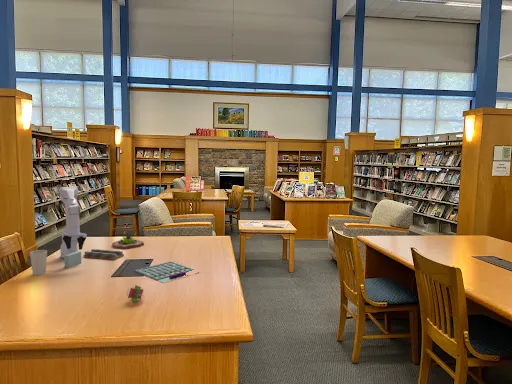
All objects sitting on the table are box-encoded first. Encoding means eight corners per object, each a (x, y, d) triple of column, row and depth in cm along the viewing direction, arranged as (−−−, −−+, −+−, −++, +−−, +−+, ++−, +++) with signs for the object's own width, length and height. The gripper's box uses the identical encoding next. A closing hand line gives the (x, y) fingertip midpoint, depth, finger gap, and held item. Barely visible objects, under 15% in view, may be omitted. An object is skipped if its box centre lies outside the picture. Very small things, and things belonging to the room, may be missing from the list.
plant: (106, 246, 258) (106, 231, 257) (130, 241, 274) (130, 227, 273) (124, 251, 246) (123, 234, 245) (147, 245, 262) (147, 230, 261)
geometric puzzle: (141, 290, 166) (132, 279, 162) (150, 294, 162) (141, 283, 158) (130, 303, 162) (120, 292, 158) (139, 307, 158) (129, 296, 154)
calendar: (175, 262, 222) (175, 259, 221) (205, 272, 203) (205, 268, 203) (134, 272, 202) (134, 268, 202) (163, 284, 183) (163, 279, 183)
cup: (28, 273, 195) (27, 251, 194) (45, 270, 201) (44, 249, 200) (33, 277, 190) (32, 254, 188) (50, 273, 195) (49, 251, 194)
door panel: (69, 268, 206) (68, 255, 205) (64, 267, 207) (64, 255, 206) (81, 263, 216) (81, 251, 215) (77, 262, 216) (76, 251, 216)
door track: (83, 257, 228) (83, 252, 228) (94, 253, 238) (93, 248, 237) (114, 260, 223) (114, 254, 223) (123, 255, 233) (123, 251, 232)
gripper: (58, 226, 207) (58, 249, 208) (80, 227, 204) (81, 251, 206) (66, 224, 214) (67, 247, 215) (88, 225, 211) (89, 248, 213)
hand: (74, 249), depth 211 cm, fingers open, 7 cm apart
